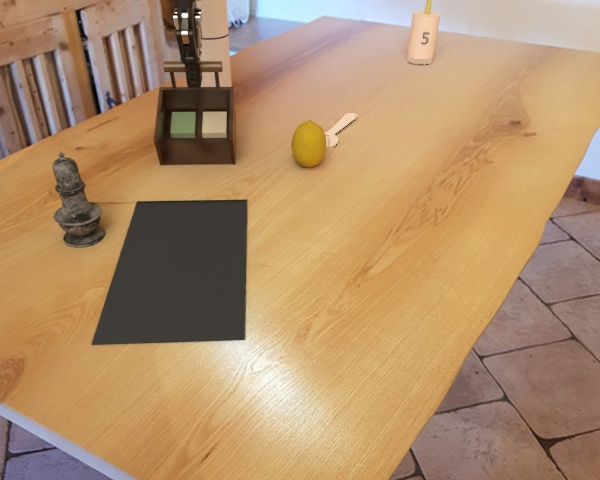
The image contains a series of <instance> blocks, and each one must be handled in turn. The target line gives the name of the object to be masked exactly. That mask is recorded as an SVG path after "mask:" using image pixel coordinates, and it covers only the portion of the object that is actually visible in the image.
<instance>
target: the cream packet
mask: <svg viewBox="0 0 600 480" xmlns="http://www.w3.org/2000/svg"><path fill="white" fill-rule="evenodd" d="M202 136H203V138H227V112H203V123H202Z"/></svg>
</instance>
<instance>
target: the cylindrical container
mask: <svg viewBox="0 0 600 480" xmlns="http://www.w3.org/2000/svg"><path fill="white" fill-rule="evenodd" d="M196 3H197V8H199V9H202V22H201V25H202V36H203V37H202V41H201V43H202V46H201V51H202V54H201V57H200V59H201V61H222V67H223V72H218V73H219V83H220V87H233V86H232V85H233V84H232V67H231V65H232V64H231V50H230V35H229V33H230V32H229V18H228V17H229V16H228V1H227V0H200V1H198V0H196ZM201 87H216V83H215V74H214V72H202V82H201Z"/></svg>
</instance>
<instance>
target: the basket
mask: <svg viewBox="0 0 600 480" xmlns="http://www.w3.org/2000/svg"><path fill="white" fill-rule="evenodd" d="M199 64H200V72H214V74H215V83H216V87H200V88H189V87H188V86H177V82H176V81H177V80H176V76H175V75H176V74H175V73H186V72H185V63H182V61H181V60H164V61H163V64H162V65H163V72H164V73H169V77H170V81H171V86H159V89H158V96H157V106H156V107H157V108H156V114H155V115H156V116H155V125H154V134H153V143H154V146H155V150H156V154H157V158H158V162H159V166H208V165H209V166H219V165H220V166H221V165H230V166H231V165H232V166H233V165H236V151H237V150H236V148H237V147H236V139H237V137H236V135H237V134H236V133H237V131H236V130H237V128H236V127H237V126H236V125H237V124H236V123H237V121H236V120H237V118H236V117H237V116H236V101H235V89H234V86H232V87H220V83H219V73H218V72H223V67H222V61H200V63H199ZM172 112H196V116H197V119H196V137H195V138H171V135H170V129H171V118H172ZM203 112H227V138H203V136H202V123H203Z"/></svg>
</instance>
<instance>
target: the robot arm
mask: <svg viewBox="0 0 600 480" xmlns="http://www.w3.org/2000/svg"><path fill="white" fill-rule="evenodd" d="M168 1H173V2H174V3H175V4H176V8H174V12H173V13H172V20H173V26H174V27H175V31H174V35H175V37H176V42H177V46H178V51H179V52H178V53H179V57H180V61H182V63H185V72H184V73H185V79H186V87H189V88H200V87H201V82H202V72H200V64H199V63H200V61H201V59H200V57H201V54H202V51H201V46H202V43H201V41H202V37H203V36H202V25H201V22H202V9H199V8H197V3H196V0H168ZM198 1H200V0H198Z"/></svg>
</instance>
